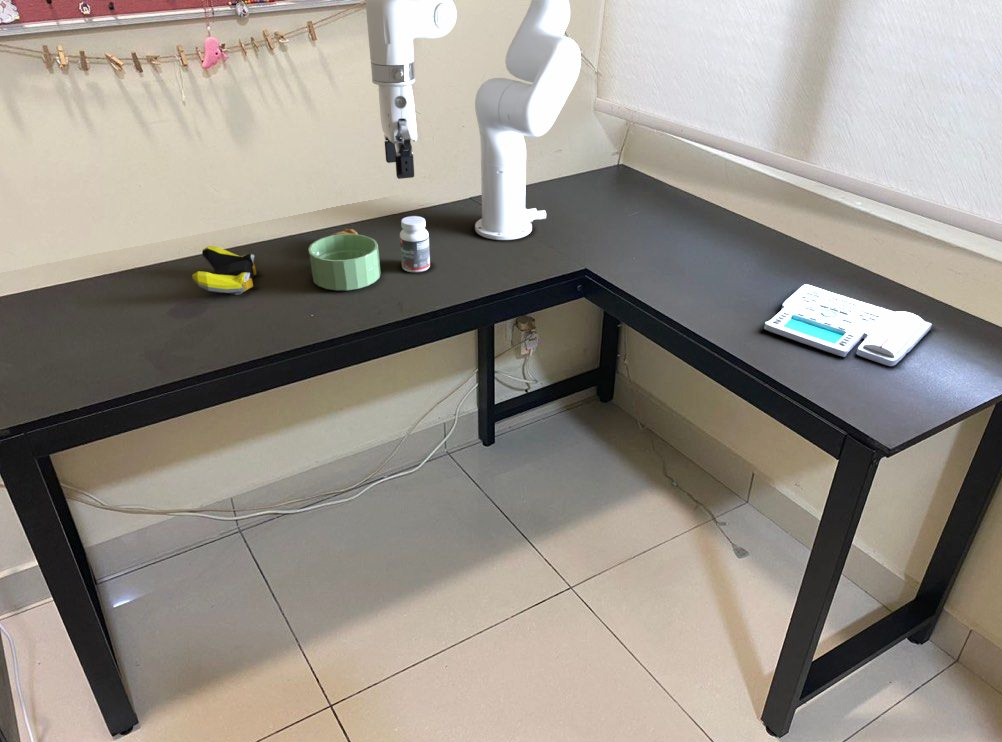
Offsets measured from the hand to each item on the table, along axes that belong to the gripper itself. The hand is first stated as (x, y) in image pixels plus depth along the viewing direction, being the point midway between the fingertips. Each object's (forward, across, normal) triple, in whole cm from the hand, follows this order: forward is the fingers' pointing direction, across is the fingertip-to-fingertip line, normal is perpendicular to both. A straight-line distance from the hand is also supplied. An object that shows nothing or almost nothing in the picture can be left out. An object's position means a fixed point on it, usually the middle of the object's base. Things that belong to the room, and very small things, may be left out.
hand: (400, 169), depth 149 cm
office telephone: (+20, -49, -67) cm, 86 cm away
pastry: (+20, +12, +11) cm, 26 cm away
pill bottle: (+20, -1, -2) cm, 20 cm away
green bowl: (+20, -2, +12) cm, 23 cm away
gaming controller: (+20, +3, +34) cm, 40 cm away
